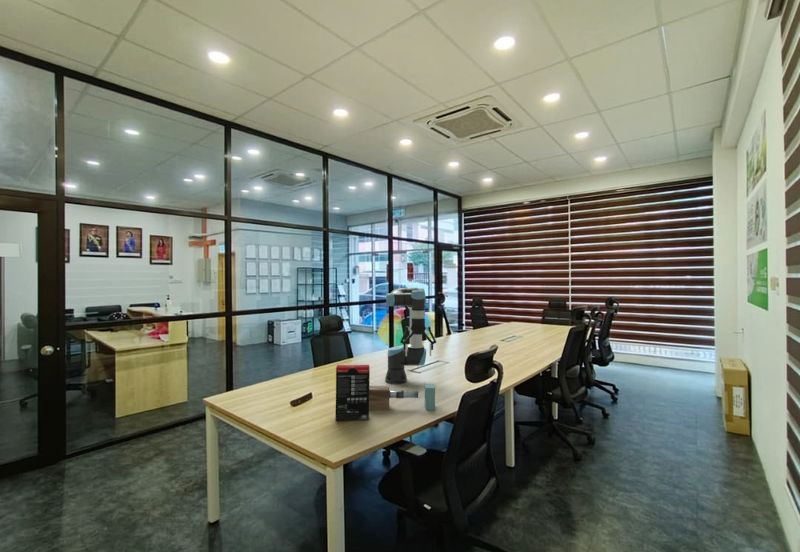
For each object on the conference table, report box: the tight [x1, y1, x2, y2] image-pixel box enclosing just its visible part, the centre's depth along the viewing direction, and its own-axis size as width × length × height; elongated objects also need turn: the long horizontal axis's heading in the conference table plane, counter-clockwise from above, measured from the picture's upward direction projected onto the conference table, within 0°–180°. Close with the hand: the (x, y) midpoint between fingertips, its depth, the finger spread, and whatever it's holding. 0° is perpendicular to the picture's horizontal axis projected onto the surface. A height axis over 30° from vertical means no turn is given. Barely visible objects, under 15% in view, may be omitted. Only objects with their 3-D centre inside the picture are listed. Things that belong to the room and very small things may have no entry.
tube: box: [389, 389, 419, 399], centre depth 201 cm, size 26×4×4 cm, turn 90°
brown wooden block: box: [369, 385, 390, 411], centre depth 201 cm, size 7×12×11 cm, turn 90°
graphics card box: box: [335, 364, 371, 422], centre depth 185 cm, size 17×7×27 cm, turn 96°
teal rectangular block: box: [424, 383, 436, 411], centre depth 201 cm, size 8×5×12 cm, turn 0°
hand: (418, 355), depth 204 cm, fingers open, 13 cm apart
